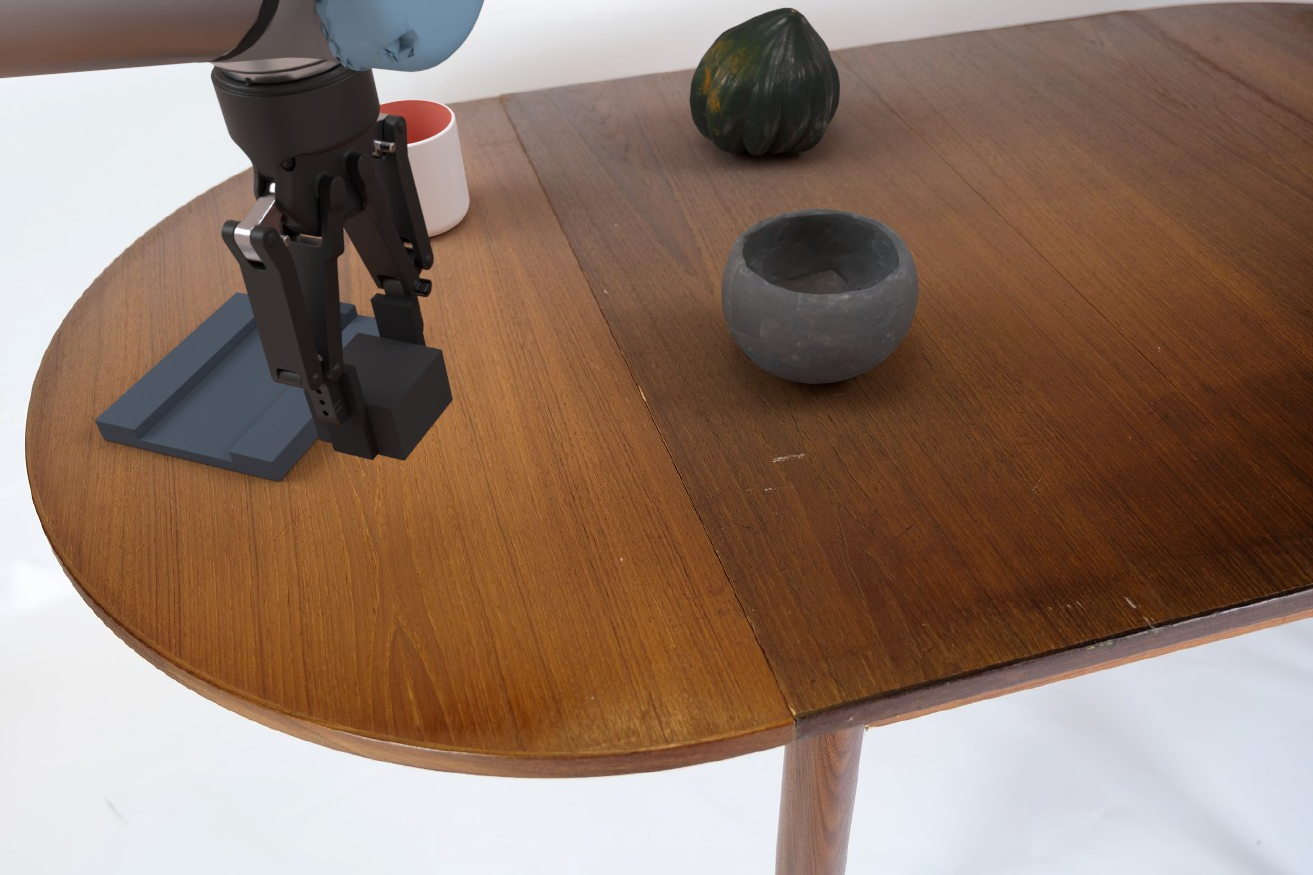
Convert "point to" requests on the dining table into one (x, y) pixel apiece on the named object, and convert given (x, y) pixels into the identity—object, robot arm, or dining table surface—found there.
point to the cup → (434, 161)
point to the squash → (766, 86)
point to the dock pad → (222, 399)
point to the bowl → (819, 294)
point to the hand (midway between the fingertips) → (385, 416)
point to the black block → (396, 391)
